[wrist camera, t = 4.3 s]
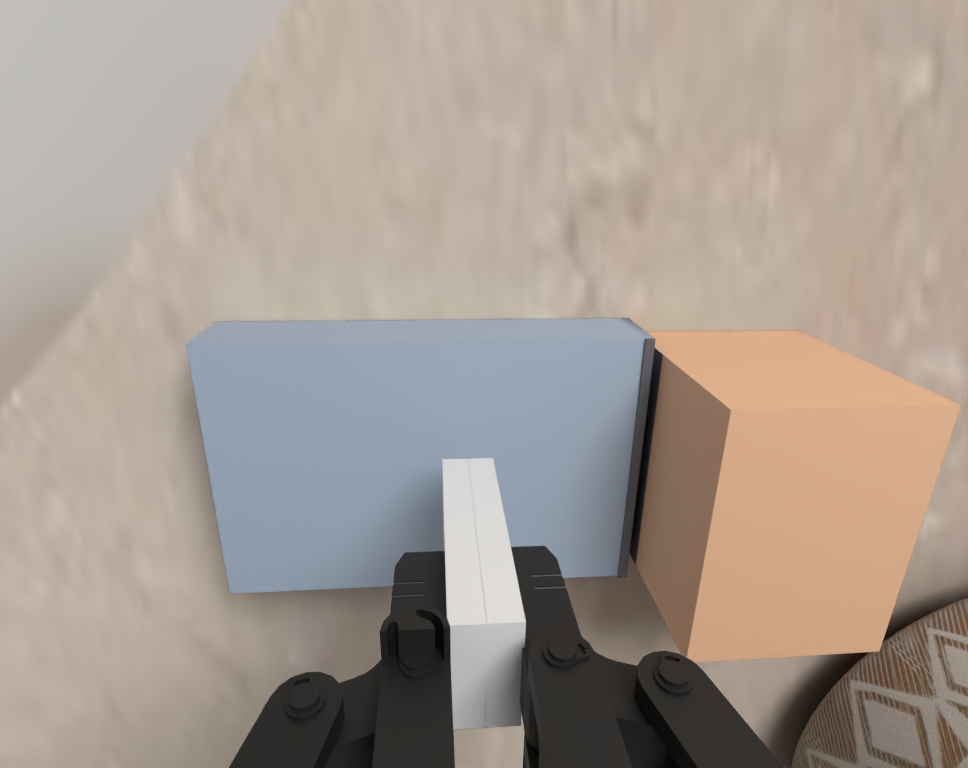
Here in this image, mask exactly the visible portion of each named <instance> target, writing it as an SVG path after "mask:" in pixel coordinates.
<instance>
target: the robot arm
mask: <svg viewBox="0 0 968 768" xmlns="http://www.w3.org/2000/svg"><path fill="white" fill-rule="evenodd" d="M442 474H443V543H444V551H430V552H405V553H404V554H403V556H402V557H401V558H400V560H399V561H398V563H397V564H396V566H395V571H394V581H393V592H392V602H391V613H390V615H389V616H388V617H387V618H386V619H385V620H384V622H383V624H382V627H381V630H380V642H381V657H382V659H381V660H380V662H379V663H378V664H377V665H376V666H375V667H374V668H372V669H371V670H369V671H368V672H367V673H365V674H363V675H360V676H358V677H356V678H353V679H350V680H347V681H344V682H342V683H338V682H337V681H336V680H335V679H334V678H333V677H332V676H330V675H327V674H324V673H321V672H306V673H303V674H300V675H297V676H294V677H292V678H290V679H289V680H287V681H286V682H284V683H283V684H281V685H280V686H279V687H278V688H277V689H276V691H275V692H274V693H273V694H272V695H271V697H270V698H269V700H268V702H267V703H266V705H265V707H264V709H263V710H262V712H261V714H260V715H259V717H258V719H257V721H256V722H255V724H254V726H253V727H252V729H251V731H250V733H249V734H248V736H247V738H246V739H245V741H244V743H243V745H242V746H241V748H240V750H239V751H238V753H237V755H236V757H235V758H234V760H233V762H232V763H231V765H230V767H229V768H455V762H454V736H453V730H458V729H474V728H490V727H505V726H521V712H522V718H523V724H524V731H525V737H524V756H523V768H783V767H782V765H781V764H780V763H779V762H778V761H777V759H776V758H775V757H774V756H773V755H772V753H771V752H770V751H769V750H768V748H767V747H766V746H765V745H764V744H763V742H762V741H761V740H760V739H759V738H758V736H757V735H756V734H755V733H754V732H753V730H752V729H751V728H750V727H749V726H748V724H747V723H746V722H745V721H744V720H743V718H742V717H741V716H740V715H739V714H738V712H737V711H736V710H735V709H734V707H733V706H732V705H731V704H730V703H729V701H728V700H727V699H726V698H725V697H724V695H723V694H722V693H721V692H720V691H719V689H718V688H717V687H716V686H715V685H714V683H713V682H712V681H711V680H710V679H709V677H708V676H707V675H706V674H705V673H704V671H703V670H702V669H701V668H700V667H699V666H697V665H696V664H695V663H694V662H693V661H692V660H690V659H688V658H686V657H684V656H682V655H680V654H677V653H673V652H668V651H659V652H652V653H650V654H648V655H646V656H644V657H643V658H642V660H641V661H640V663H639V664H638V666H635V665H631V664H626V663H622V662H617V661H614V660H611V659H607V658H605V657H603V656H601V655H599V654H598V653H596V652H595V651H594V650H593V649H592V647H591V645H590V644H589V643H588V642H587V641H586V640H585V639H584V638H582V636H581V634H580V631H579V628H578V625H577V621H576V618H575V615H574V612H573V608H572V605H571V602H570V599H569V596H568V592H567V589H566V588H565V583H564V580H563V576H562V573H561V570H560V567H559V564H558V560H557V558H556V557H555V556H554V555H553V554H552V553H551V552H550V551H549V550H548V549H547V547H546V546H522V547H511V545H510V540H509V535H508V530H507V525H506V520H505V515H504V510H503V505H502V500H501V495H500V490H499V485H498V480H497V475H496V471H495V466H494V461H493V458H473V459H442Z"/></svg>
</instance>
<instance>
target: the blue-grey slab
mask: <svg viewBox="0 0 968 768" xmlns="http://www.w3.org/2000/svg"><path fill="white" fill-rule="evenodd" d="M655 340H656V339H655V338H653V337H652V336H651V335H650V334H648V333H647V332H646V331H644V330H643V329H642V328H641V327H639V326H638V325H637V324H635V323H634V322H633V321H632V320H630V319H629V318H617V319H494V320H370V321H246V322H215V323H214V324H212V325H211V326H209V327H208V328H207V329H205V330H204V331H203V332H201V333H200V334H198V335H197V336H196V337H194V338H193V339H192V340H190V341H189V342H187V343H186V346H187V352H188V357H189V363H190V369H191V374H192V380H193V386H194V391H195V397H196V403H197V409H198V414H199V420H200V426H201V431H202V437H203V443H204V448H205V454H206V460H207V466H208V471H209V477H210V483H211V488H212V494H213V500H214V505H215V511H216V517H217V523H218V528H219V534H220V540H221V545H222V551H223V557H224V562H225V568H226V574H227V579H228V585H229V591H230V594H236V593H257V592H278V591H300V590H321V589H343V588H364V587H385V586H393V581H394V571H395V566H396V564H397V563H398V561H399V560H400V558H401V557H402V556H403V554H404V553H405V552H430V551H444V543H443V474H442V459H473V458H493V461H494V466H495V471H496V475H497V480H498V485H499V490H500V495H501V500H502V505H503V510H504V515H505V520H506V525H507V530H508V535H509V540H510V545H511V547H522V546H546V547H547V549H548V550H549V551H550V552H551V553H552V554H553V555H554V556H555V557H556V558H557V560H558V564H559V567H560V570H561V573H562V576H563V578H578V577H599V576H618V577H626V576H627V568H628V560H629V551H630V543H631V535H632V527H633V519H634V511H635V503H636V495H637V486H638V478H639V470H640V462H641V454H642V446H643V438H644V430H645V422H646V413H647V405H648V397H649V389H650V381H651V373H652V365H653V357H654V349H655Z"/></svg>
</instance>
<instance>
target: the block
mask: <svg viewBox="0 0 968 768" xmlns="http://www.w3.org/2000/svg"><path fill="white" fill-rule="evenodd" d="M647 333H648V334H650V335H651V336H652V337H653V338H655V339H656V340H655V349H654V357H653V365H652V373H651V381H650V389H649V397H648V405H647V413H646V422H645V430H644V438H643V446H642V454H641V462H640V470H639V478H638V486H637V495H636V503H635V511H634V519H633V527H632V535H631V543H630V551H629V553H630V555H631V557H632V559H633V561H634V563H635V565H636V567H637V569H638V571H639V573H640V575H641V576H642V578H643V580H644V582H645V584H646V586H647V588H648V590H649V592H650V594H651V596H652V598H653V600H654V602H655V604H656V606H657V608H658V610H659V612H660V614H661V616H662V618H663V619H664V621H665V623H666V625H667V627H668V629H669V631H670V633H671V635H672V637H673V639H674V641H675V643H676V645H677V647H678V649H679V651H680V653H681V655H682V656H684V657H686V658H688V659H690V660H692V661H693V662H694V663H696V662H713V661H729V660H746V659H762V658H779V657H795V656H812V655H828V654H845V653H861V652H878V651H880V648H881V645H882V642H883V639H884V636H885V633H886V630H887V627H888V624H889V621H890V618H891V615H892V612H893V609H894V606H895V603H896V600H897V597H898V594H899V591H900V588H901V585H902V582H903V579H904V576H905V573H906V570H907V567H908V564H909V561H910V558H911V555H912V552H913V549H914V545H915V542H916V539H917V536H918V533H919V530H920V527H921V524H922V521H923V518H924V515H925V512H926V509H927V506H928V503H929V500H930V497H931V494H932V491H933V488H934V485H935V482H936V479H937V476H938V473H939V470H940V467H941V464H942V461H943V458H944V455H945V452H946V449H947V446H948V443H949V440H950V437H951V434H952V431H953V428H954V425H955V422H956V419H957V416H958V413H959V410H960V407H961V405H960V404H958V403H956V402H953V401H951V400H949V399H947V398H944V397H942V396H940V395H938V394H936V393H933V392H931V391H929V390H927V389H925V388H922V387H920V386H918V385H916V384H914V383H911V382H909V381H907V380H905V379H902V378H900V377H898V376H896V375H894V374H891V373H889V372H887V371H885V370H883V369H880V368H878V367H876V366H874V365H872V364H869V363H867V362H865V361H863V360H861V359H858V358H856V357H854V356H852V355H849V354H847V353H845V352H843V351H841V350H838V349H836V348H834V347H832V346H830V345H827V344H825V343H823V342H821V341H819V340H816V339H814V338H812V337H810V336H808V335H805V334H803V333H801V332H799V331H796V330H793V331H694V332H647Z"/></svg>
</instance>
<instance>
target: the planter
mask: <svg viewBox="0 0 968 768" xmlns="http://www.w3.org/2000/svg"><path fill="white" fill-rule="evenodd" d="M791 768H968V597H967V598H964V599H962V600H959V601H957V602H954V603H952V604H950V605H947V606H945V607H943V608H940V609H938V610H936V611H934V612H932V613H930V614H928V615H926V616H924V617H922V618H920V619H919V620H917V621H915V622H913V623H911V624H910V625H908V626H906V627H905V628H903V629H902V630H900V631H898V632H897V633H895V634H894V635H892V636H891V637H889V638H888V639H886V640H885V641H883V642H882V645H881V648H880V651H878V652H869V653H868V654H867V655H865V656H864V657H863V658H862V659H861V660H860V661H858V662H857V663H856V664H855V665H854V666H853V667H852V668H851V669H850V670H849V671H848V672H847V673H846V674H845V675H843V677H842V678H841V679H840V680H839V681H838V682H837V683H836V684H835V685H834V686H833V687H832V689H831V690H830V691H829V692H828V694H827V695H826V696H825V697H824V699H823V700H822V701H821V703H820V704H819V705H818V707H817V708H816V710H815V711H814V713H813V714H812V716H811V718H810V719H809V721H808V723H807V724H806V726H805V728H804V730H803V732H802V734H801V737H800V739H799V742H798V744H797V746H796V750H795V753H794V756H793V760H792V765H791Z"/></svg>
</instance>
